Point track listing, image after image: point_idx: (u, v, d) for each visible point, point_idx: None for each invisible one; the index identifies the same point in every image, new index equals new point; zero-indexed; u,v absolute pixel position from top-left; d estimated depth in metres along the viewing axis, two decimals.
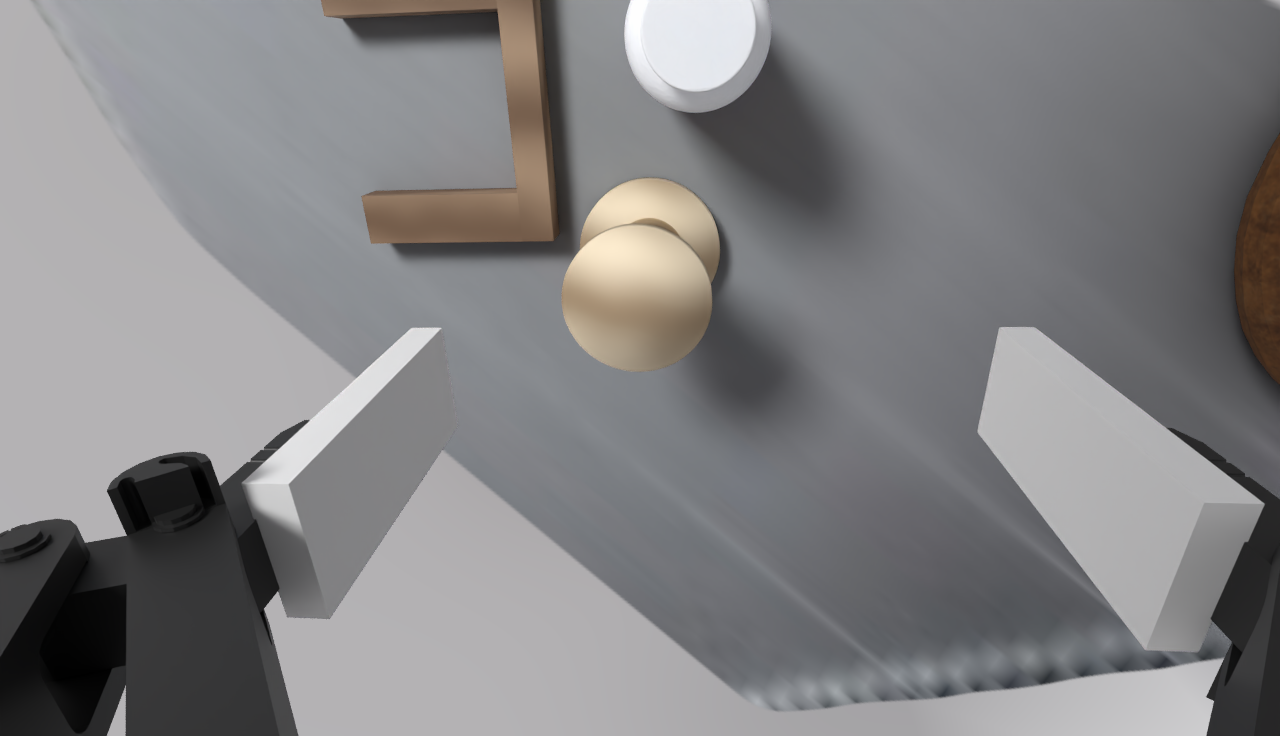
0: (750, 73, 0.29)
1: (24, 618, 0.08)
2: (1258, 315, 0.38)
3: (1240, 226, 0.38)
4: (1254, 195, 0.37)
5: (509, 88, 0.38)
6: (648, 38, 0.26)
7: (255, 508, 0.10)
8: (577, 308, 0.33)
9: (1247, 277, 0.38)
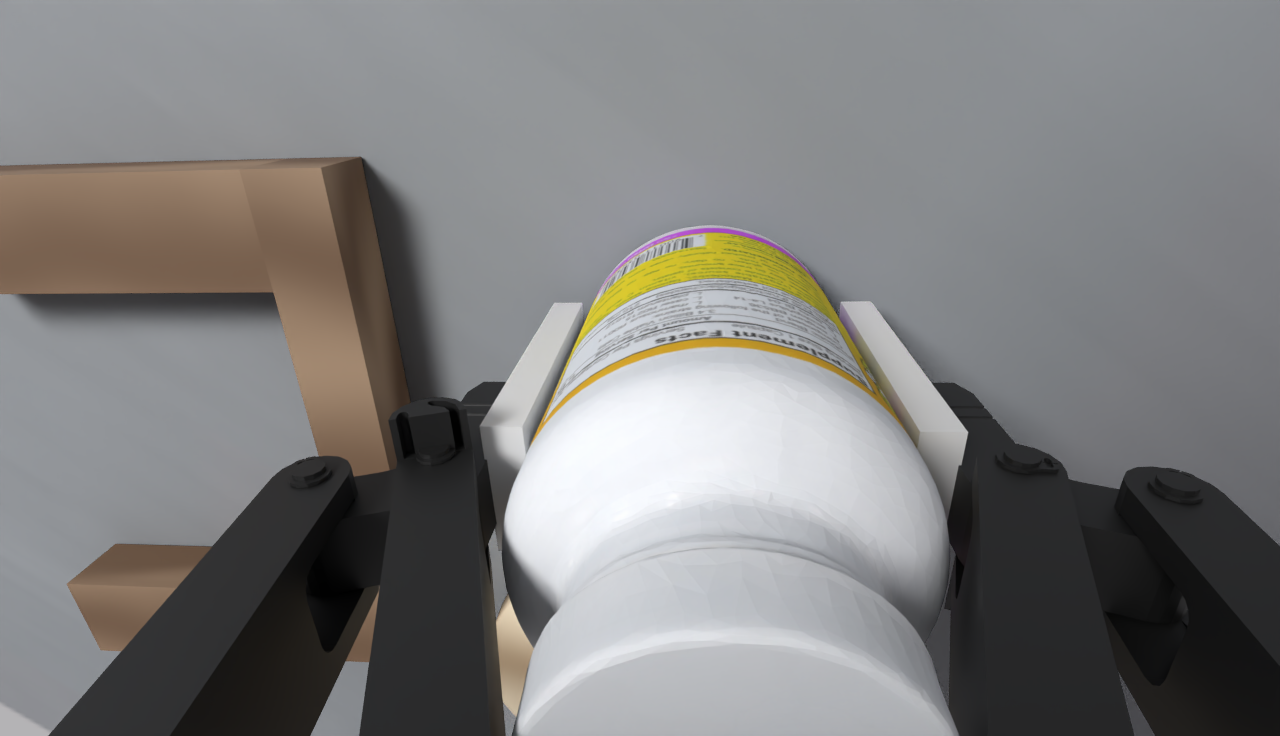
0: None
1: (301, 544, 0.09)
2: None
3: None
4: None
5: (319, 431, 0.18)
6: None
7: (488, 449, 0.11)
8: None
9: None
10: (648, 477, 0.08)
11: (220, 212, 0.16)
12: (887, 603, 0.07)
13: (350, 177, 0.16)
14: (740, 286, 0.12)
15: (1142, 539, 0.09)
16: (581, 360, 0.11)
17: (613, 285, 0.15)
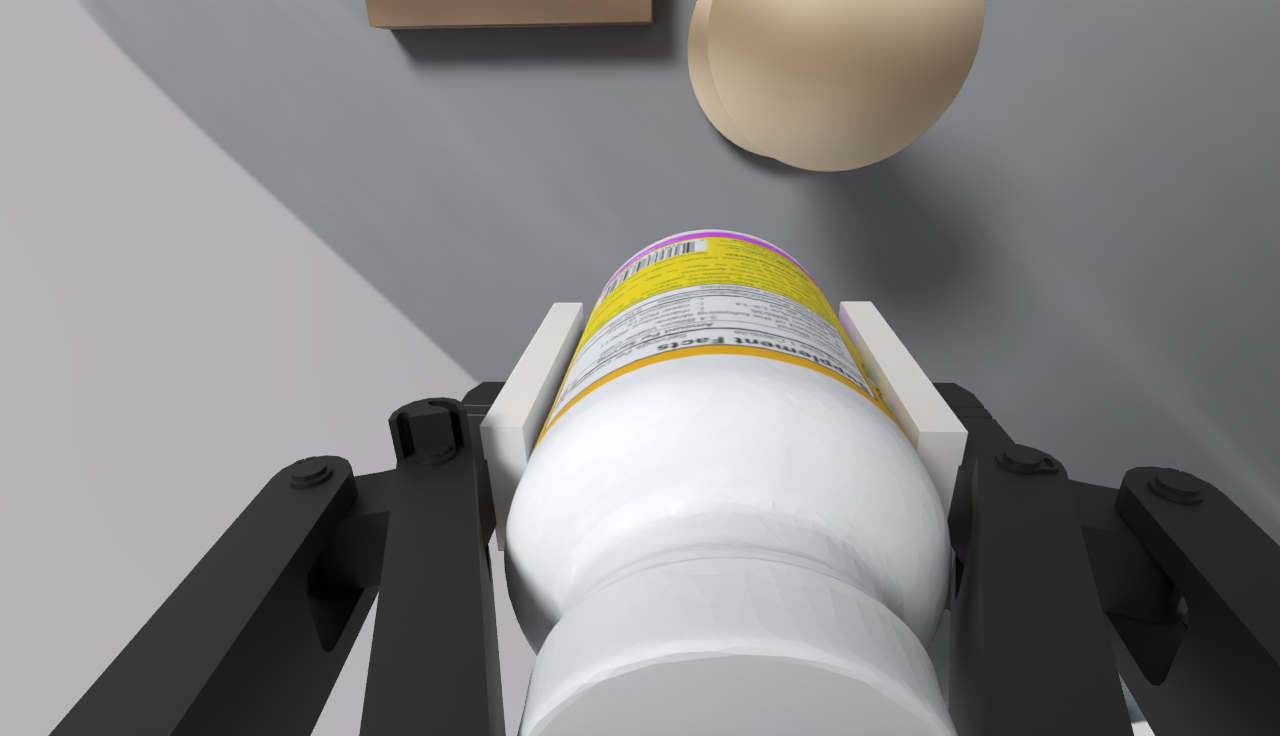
0: None
1: (301, 544, 0.09)
2: None
3: None
4: None
5: None
6: None
7: (488, 449, 0.11)
8: (735, 44, 0.19)
9: None
10: (652, 485, 0.08)
11: None
12: (889, 612, 0.07)
13: None
14: (741, 292, 0.12)
15: (1141, 539, 0.09)
16: (583, 366, 0.11)
17: (615, 289, 0.15)
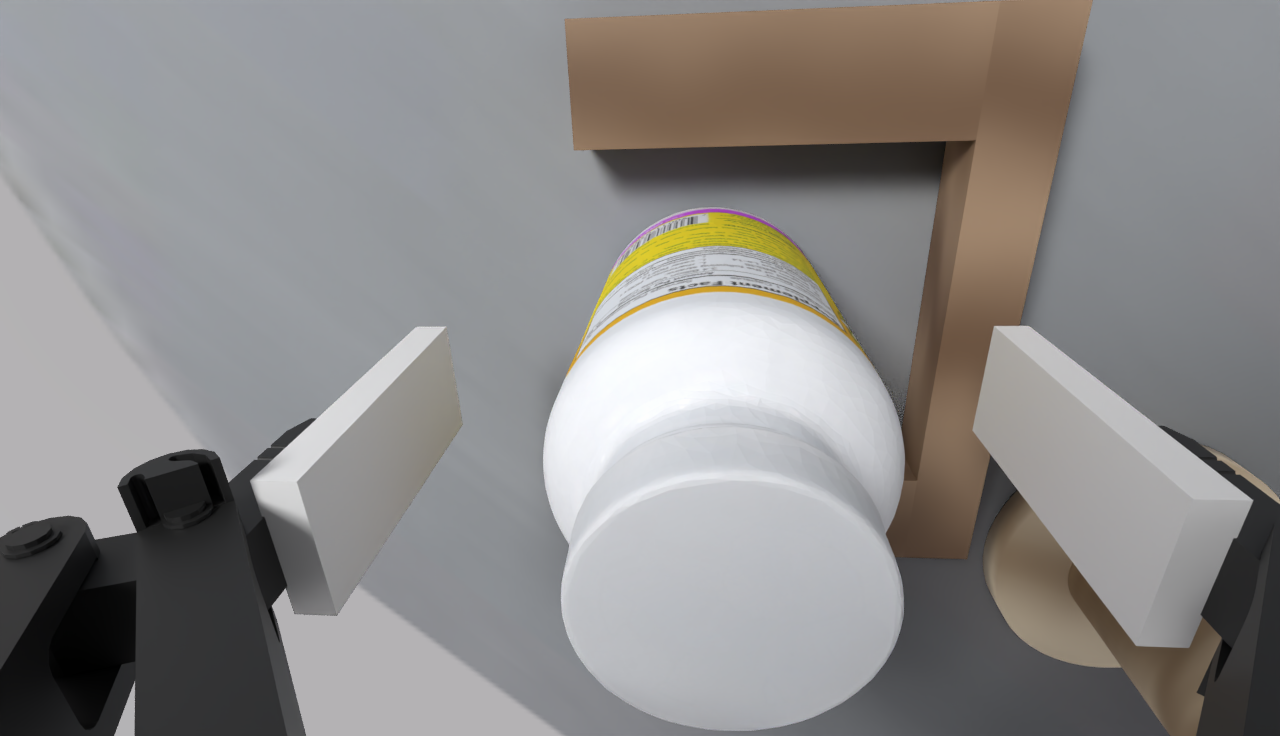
0: None
1: (34, 614, 0.08)
2: None
3: None
4: None
5: (956, 298, 0.18)
6: (582, 626, 0.09)
7: (263, 505, 0.10)
8: None
9: None
10: (665, 388, 0.10)
11: (957, 49, 0.15)
12: (845, 469, 0.09)
13: None
14: (737, 251, 0.14)
15: None
16: (605, 311, 0.13)
17: (628, 256, 0.17)
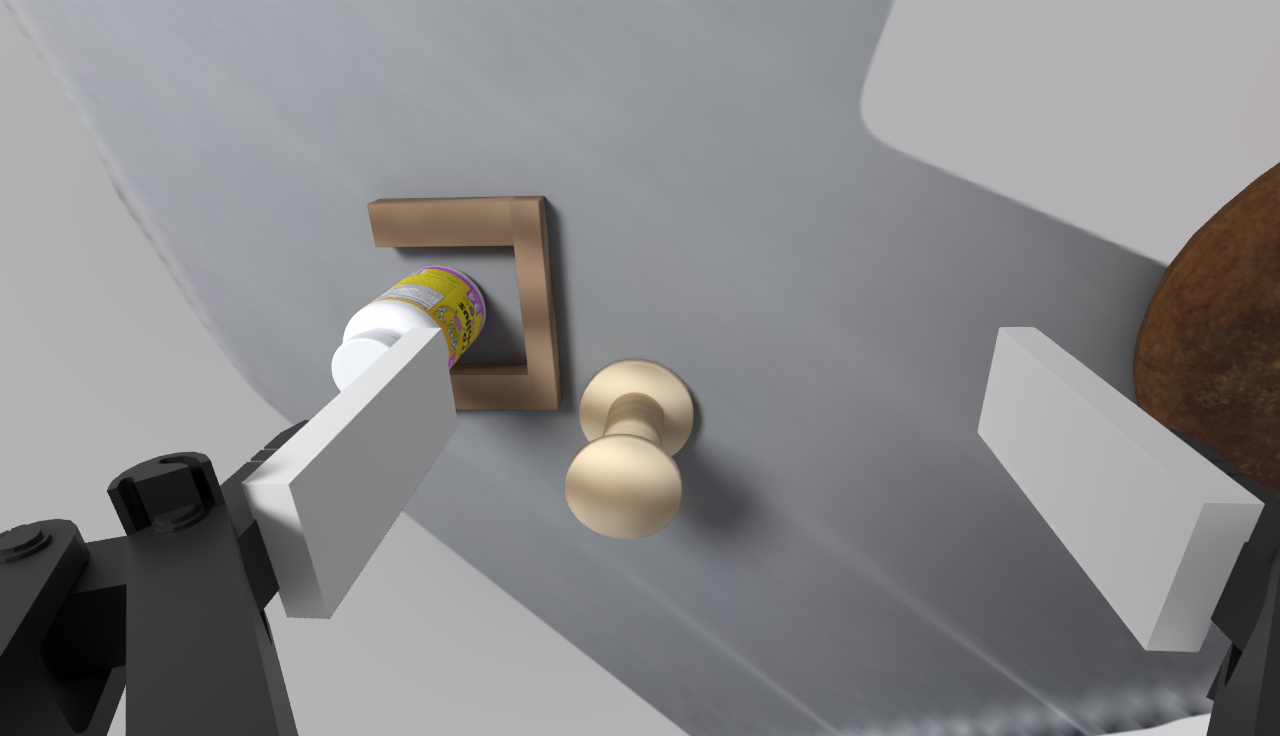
0: None
1: (24, 618, 0.08)
2: None
3: (1134, 359, 0.46)
4: (1141, 338, 0.44)
5: (522, 300, 0.47)
6: (337, 379, 0.38)
7: (255, 508, 0.10)
8: (577, 494, 0.43)
9: (1143, 401, 0.45)
10: (366, 324, 0.40)
11: (499, 216, 0.45)
12: None
13: (542, 203, 0.45)
14: (414, 286, 0.43)
15: None
16: None
17: None
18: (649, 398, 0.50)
